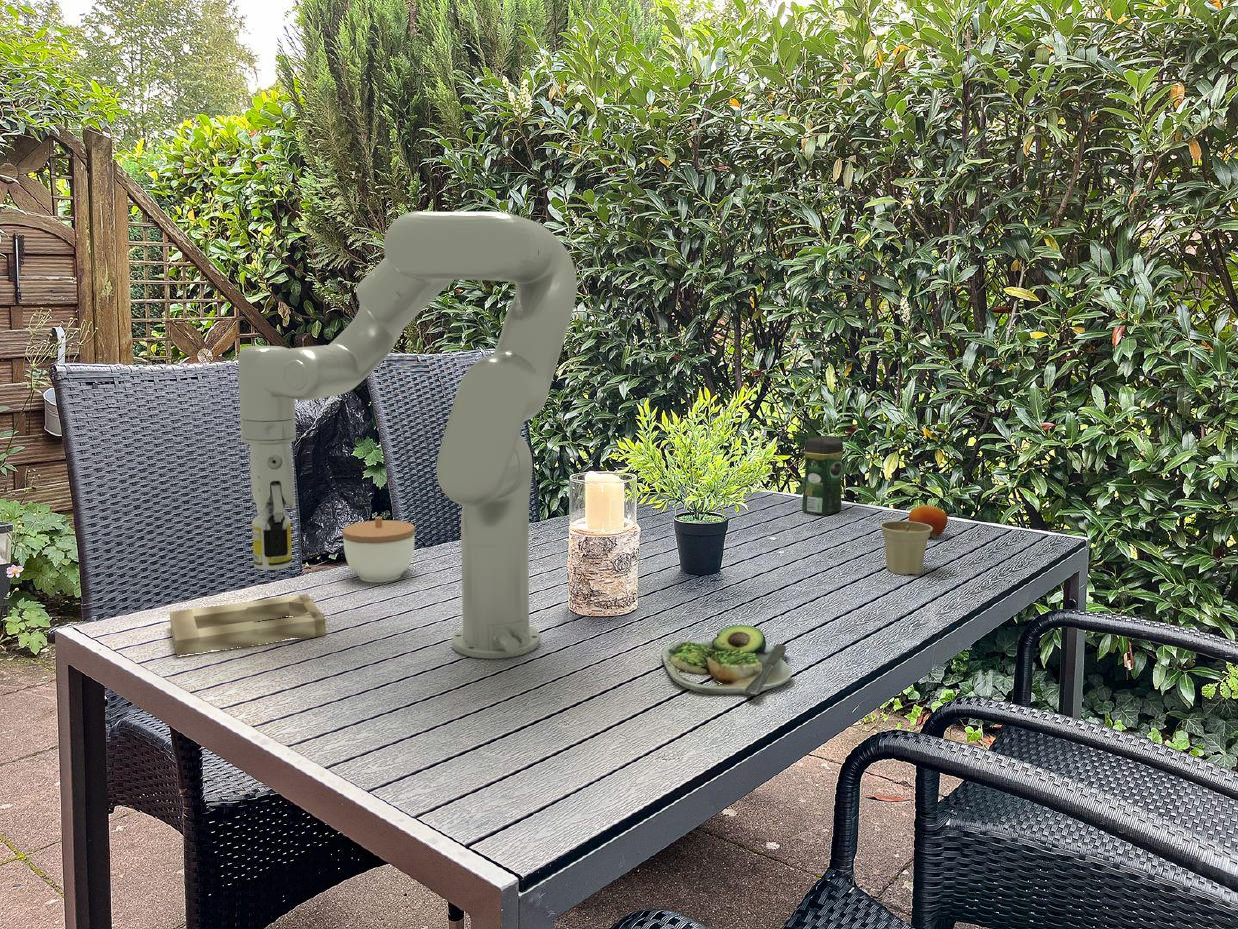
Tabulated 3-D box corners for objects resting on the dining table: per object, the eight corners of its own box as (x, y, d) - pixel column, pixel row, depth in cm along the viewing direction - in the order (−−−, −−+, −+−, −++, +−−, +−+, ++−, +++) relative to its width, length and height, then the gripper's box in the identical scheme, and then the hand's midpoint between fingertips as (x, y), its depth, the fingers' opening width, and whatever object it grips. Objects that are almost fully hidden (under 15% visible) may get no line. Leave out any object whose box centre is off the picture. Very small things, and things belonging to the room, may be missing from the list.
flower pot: (878, 576, 173) (880, 530, 171) (876, 562, 182) (879, 519, 180) (931, 579, 170) (934, 533, 169) (927, 566, 179) (930, 522, 178)
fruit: (907, 534, 199) (909, 499, 202) (906, 545, 206) (908, 511, 209) (948, 537, 196) (949, 501, 199) (945, 548, 203) (947, 514, 206)
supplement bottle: (298, 562, 143) (296, 499, 141) (282, 572, 138) (280, 506, 136) (264, 560, 144) (262, 497, 142) (247, 570, 138) (244, 504, 137)
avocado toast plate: (817, 705, 116) (818, 670, 116) (674, 709, 115) (675, 673, 114) (779, 649, 135) (780, 619, 135) (656, 652, 134) (656, 621, 133)
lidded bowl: (430, 574, 171) (429, 515, 170) (380, 591, 161) (378, 528, 159) (380, 564, 178) (378, 507, 176) (328, 580, 167) (326, 519, 165)
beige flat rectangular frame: (310, 608, 151) (309, 593, 151) (328, 635, 139) (327, 618, 138) (170, 627, 141) (169, 611, 141) (177, 658, 129) (175, 640, 129)
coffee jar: (818, 506, 234) (821, 432, 231) (846, 511, 228) (849, 435, 225) (795, 512, 227) (798, 436, 224) (823, 517, 221) (827, 439, 218)
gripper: (306, 437, 132) (309, 562, 135) (285, 423, 147) (289, 535, 150) (249, 439, 128) (254, 568, 131) (233, 424, 143) (238, 540, 146)
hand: (272, 549), depth 140 cm, fingers closed on supplement bottle, 5 cm apart
